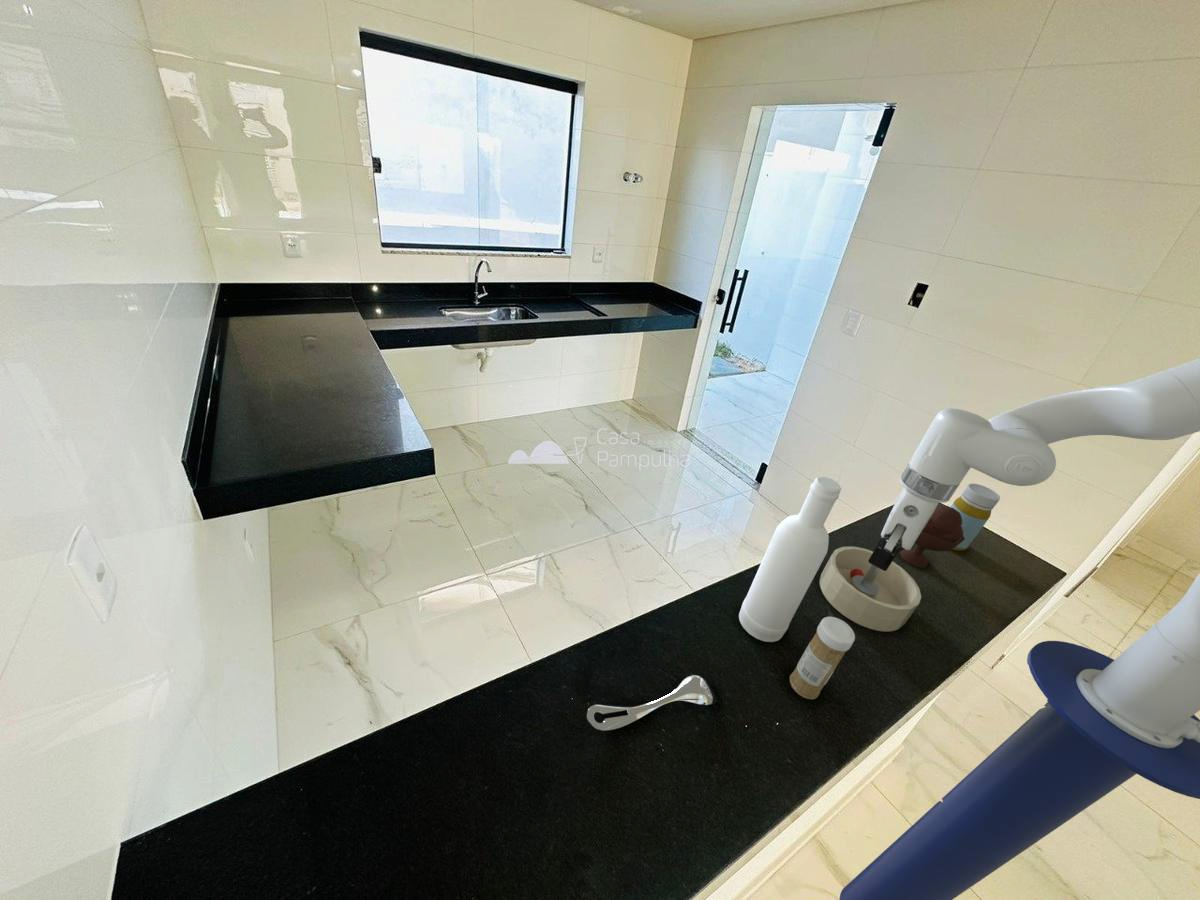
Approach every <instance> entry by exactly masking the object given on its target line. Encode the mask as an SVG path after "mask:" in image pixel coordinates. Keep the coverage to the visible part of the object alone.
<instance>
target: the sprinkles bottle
mask: <svg viewBox="0 0 1200 900" xmlns="http://www.w3.org/2000/svg"><path fill="white" fill-rule="evenodd" d="M855 641H856V634H855V632H854V630H853V629H852V627H851V626H850V625H849V624H848V623H847V622H845V621H844V620H843V619H841V618H838V617H835V616H826V617H823V618H822V619H821V620H820V621H819V624H818V625H817V628H816V631H815V634H814V636H813V637H812V638H811V640H810V641H809V643H808V645H807V646H806V648H805V650H804V652H803V654H802V655H801V657H800V659H799V660H798V663H797V665H796V667H795V668H794V670H793V672H792V673H791V674H790V675H789V684H790V686H791V688H792V689H793V691H794V692H795V693H797V695H799V696H800V697H802V698H804V699H806V700H816V699H817V698H818V697H819V696H820V694H821V691H822V690H823V688H824V687H825V685H827V684H828V682H829V680H830V678H831V676H832V675H833V673H834V672H835V669H836V668H837V666H838V665H839V664H840V662H841V660H842V658H843V657H844V655H845V653H846V652H847V651H849V650H850V649H851V647H852V646H853V644H854V642H855Z"/></svg>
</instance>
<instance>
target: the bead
mask: <svg viewBox="0 0 1200 900" xmlns="http://www.w3.org/2000/svg"><path fill="white" fill-rule="evenodd" d="M856 575H860V576H864V574H863V572H862V571H861V570H860V569H853V570H852V571H851V572H850V576H851V578H853V577H854V576H856Z"/></svg>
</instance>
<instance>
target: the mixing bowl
mask: <svg viewBox="0 0 1200 900" xmlns="http://www.w3.org/2000/svg"><path fill="white" fill-rule="evenodd" d="M873 552H874V550H873V551H872V550H871V549H867V548H864V547H859V546H841V547H839V548H836V549H835V550H834V551H833V552H832V553H831V555H830V557H829V559H828V561H827V563H826V565H825V566H824V567H823V570H822V572H821V574H820V577H819V587H820V590H821V592H822V594H823V596H824V597H825V599H826V600H827V602H828V603H829V604H830V605H831V606H832V608H834V609H835V610H836V611H837V612H839V613H840V614H841V615H842V616H844V617H846V619H849V620H850V621H852V622H853V623H855V624H857V625H859V626H862V627H863V628H864V627H865V628H867V629H870V630H874V631H877V632H895V631H897V630H899V629H901V628H902V627H903V626H904V625H905V624H906V623H907V621H909V619H910V617H911V616H912V614H913V613H914V612H915V610H916V609H917V608H918V607H919V605H920V603H921V600H922V594H921V590H920V587H919V585H918V584H917V582H916V581H915V579H914V578H913V577H912V576H911V575H910V574H909V573H908V572H907V571H906V570H905V569H904V568H903V567H902V566H900V565H898V564H897V563H896V562H894V560H893V561H892V563H891V564H890V566H889V567H888V569H887V571H883V570H880V572H879V573H878V575H877V576H876V578H875V580H874V581H873V582H874V583H875V584H876V585H877V586H878V588H879V592H878V594H877V595H876V597H875V599H872V598H870V597H868V596H867V595H865V594H863V593H861V592H860V591H858V590H857V589H856V588H854V587H853V586H852V585H851V584H849V583H850V581H851V579H852V578H851V576H850V572H851V571H852V570H853V569H860V570H861V571H862V572H863V574H864V577H865V575H866V573H867V572H868V570H869V568H870V567H871V565H872V564H870V563H869V562H868V560H869V558H870V557H871V555H872V553H873Z"/></svg>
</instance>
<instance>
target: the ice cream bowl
mask: <svg viewBox="0 0 1200 900" xmlns="http://www.w3.org/2000/svg"><path fill="white" fill-rule="evenodd" d="M961 525H962V517H961V515H960V512H958V511H957V510H955V509H954V508H952V507H951V506H949V505H937V507H936V509H935V511H934V512H933V514H932V516H931V517H930V519H929V521H928V522H927V524H926V525H925V527H924V528H923V530H922V532H921V533H920V535H919V536H918V538H917V540H916V541H915V543H914V544H915V546H914V548H913V549H912V548H911V549H910V550H905V549H904V548H903V549H901V550H900V551H899V555H900V558H901V559H903V560H904V561H905V562H906V563H907V564H910V565H911V566H913V567H916V568H926V567H927V566H928V560H927V558H926V557H925V556H924V555H923V553H924V551H925V550H926V551H934V552H949V551H951V550H952V549H953V548H955V547H956V546H957V545H959V544H960V543H961V542H962V541H964V540H965V538H964V536H963V529H962V527H961Z"/></svg>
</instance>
